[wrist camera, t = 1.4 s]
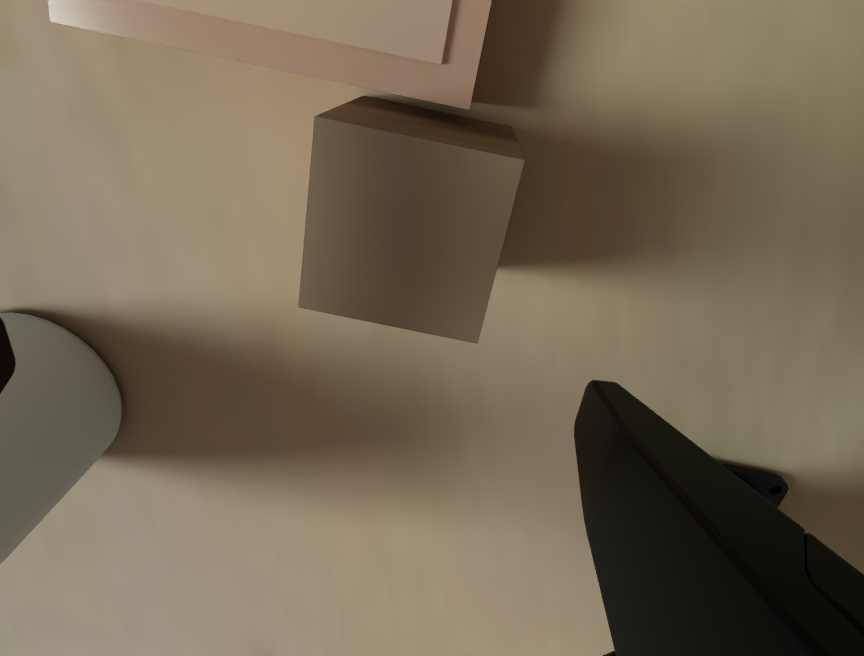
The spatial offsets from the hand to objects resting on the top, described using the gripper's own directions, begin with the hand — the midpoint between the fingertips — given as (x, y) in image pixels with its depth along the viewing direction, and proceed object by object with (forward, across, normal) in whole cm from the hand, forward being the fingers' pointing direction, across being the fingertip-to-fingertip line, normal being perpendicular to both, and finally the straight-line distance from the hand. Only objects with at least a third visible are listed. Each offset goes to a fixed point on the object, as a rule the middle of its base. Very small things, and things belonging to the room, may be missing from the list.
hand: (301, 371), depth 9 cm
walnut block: (+12, -2, 0) cm, 12 cm away
